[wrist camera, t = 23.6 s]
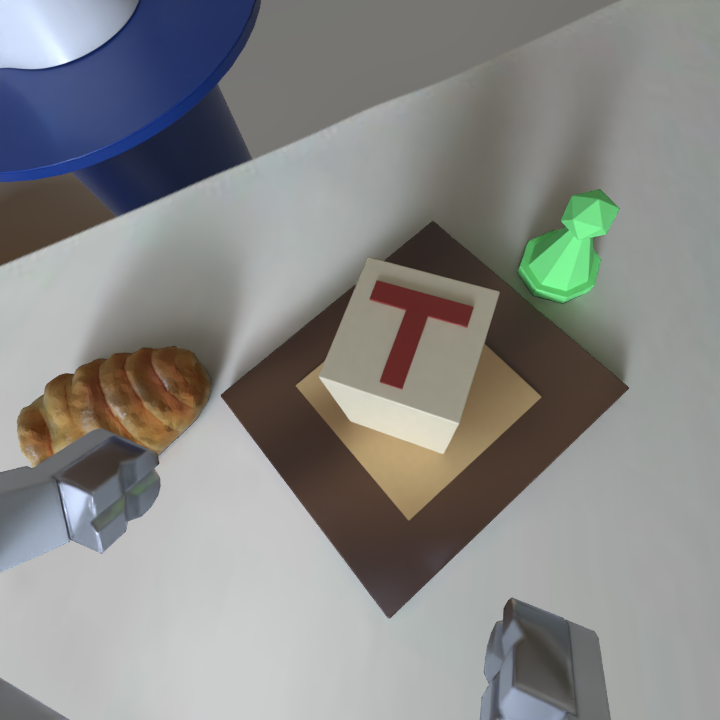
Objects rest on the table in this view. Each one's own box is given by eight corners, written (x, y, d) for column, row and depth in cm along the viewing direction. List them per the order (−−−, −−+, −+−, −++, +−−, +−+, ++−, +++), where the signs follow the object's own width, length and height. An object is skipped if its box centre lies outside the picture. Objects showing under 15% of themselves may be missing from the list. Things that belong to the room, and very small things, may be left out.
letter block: (349, 421, 23) (317, 375, 15) (382, 335, 24) (367, 254, 16) (443, 454, 22) (459, 423, 14) (472, 363, 23) (501, 289, 15)
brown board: (225, 398, 25) (218, 394, 24) (432, 228, 27) (432, 219, 26) (389, 615, 20) (388, 620, 20) (623, 391, 22) (631, 386, 22)
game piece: (512, 240, 26) (539, 165, 20) (588, 234, 25) (637, 155, 20) (522, 306, 25) (555, 244, 19) (603, 300, 24) (661, 236, 18)
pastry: (190, 328, 27) (155, 300, 23) (236, 422, 24) (205, 407, 21) (50, 408, 26) (-8, 392, 22) (83, 512, 24) (25, 513, 20)
